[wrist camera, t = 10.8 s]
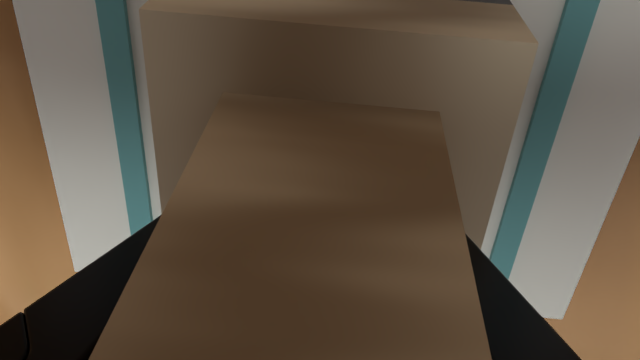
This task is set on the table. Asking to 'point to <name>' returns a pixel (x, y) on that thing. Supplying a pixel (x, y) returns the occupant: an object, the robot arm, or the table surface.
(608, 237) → the table surface
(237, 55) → the stamp
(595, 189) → the board
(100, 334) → the robot arm
